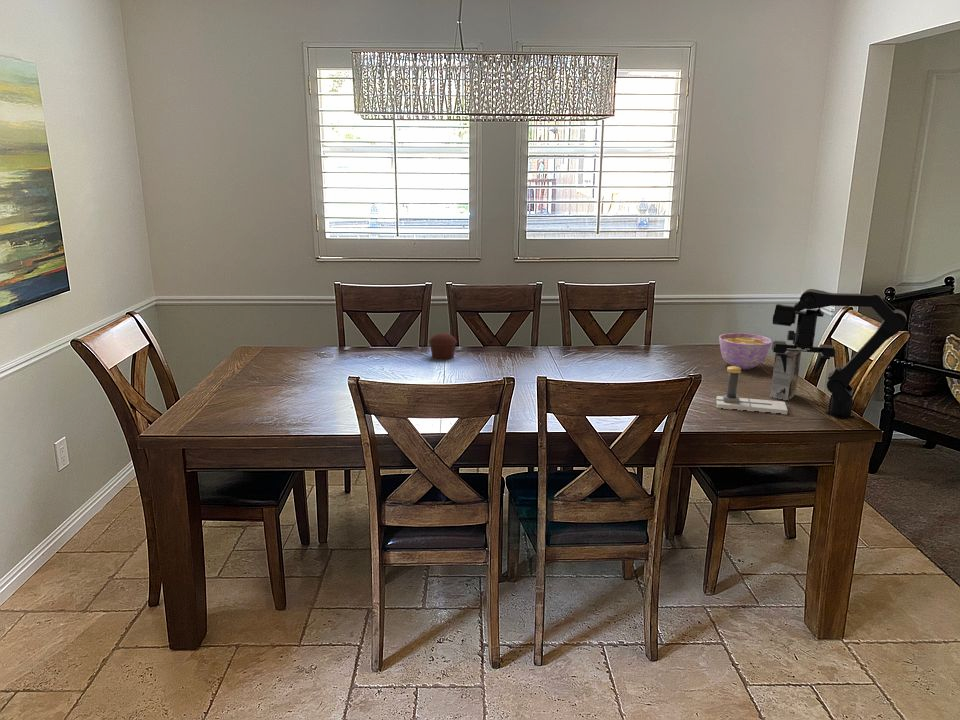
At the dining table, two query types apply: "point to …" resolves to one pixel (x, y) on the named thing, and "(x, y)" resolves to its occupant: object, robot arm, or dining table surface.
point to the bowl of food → (744, 349)
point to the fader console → (753, 405)
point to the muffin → (442, 346)
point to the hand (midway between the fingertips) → (799, 373)
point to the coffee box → (785, 376)
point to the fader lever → (732, 384)
